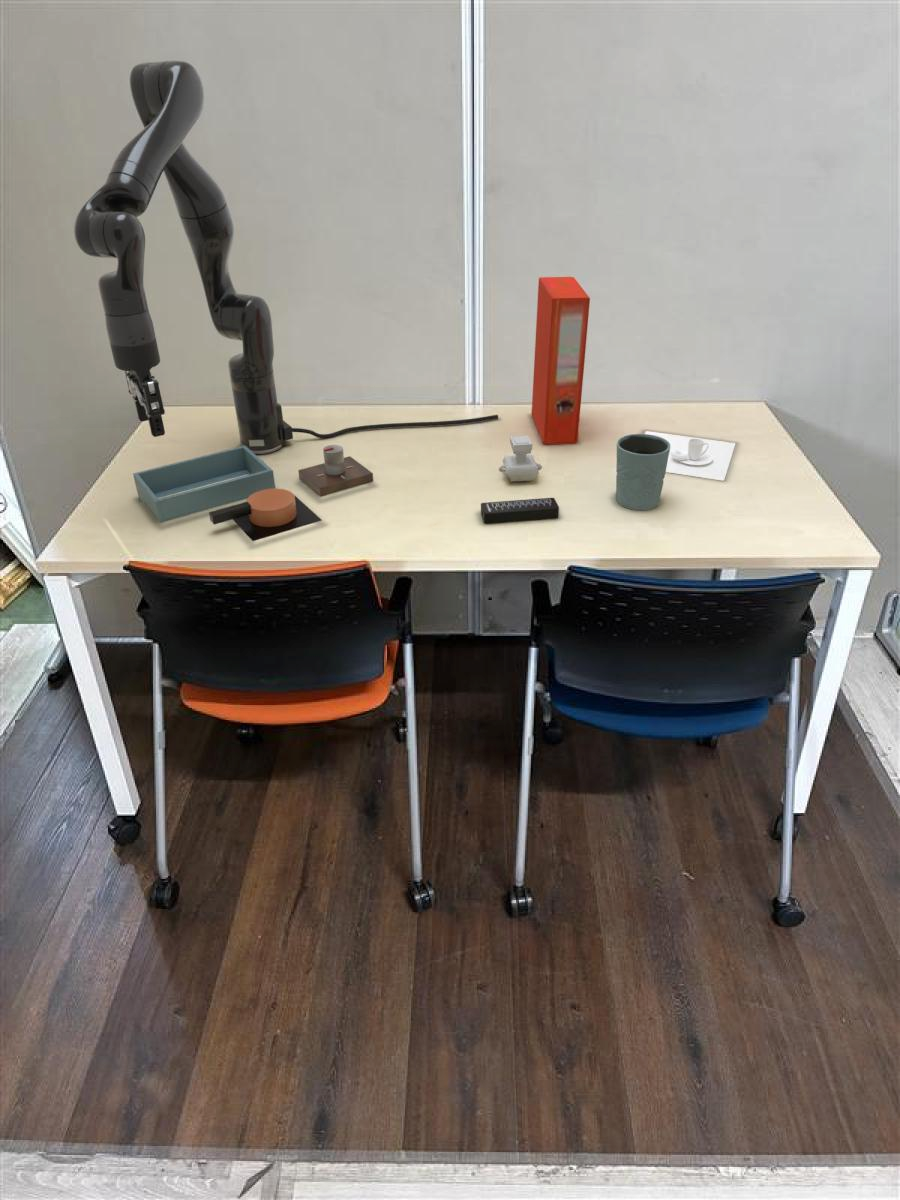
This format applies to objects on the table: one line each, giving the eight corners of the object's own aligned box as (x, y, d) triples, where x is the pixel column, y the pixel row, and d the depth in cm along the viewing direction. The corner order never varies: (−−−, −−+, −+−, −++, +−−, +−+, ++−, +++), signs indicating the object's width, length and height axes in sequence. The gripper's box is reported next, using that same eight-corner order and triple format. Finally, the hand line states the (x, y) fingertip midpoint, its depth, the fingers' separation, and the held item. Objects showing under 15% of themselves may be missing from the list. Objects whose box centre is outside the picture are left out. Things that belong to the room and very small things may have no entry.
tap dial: (339, 465, 178) (337, 441, 175) (348, 472, 175) (346, 448, 172) (322, 470, 176) (319, 446, 173) (330, 477, 173) (328, 453, 170)
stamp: (500, 486, 176) (501, 447, 171) (496, 472, 181) (497, 434, 176) (544, 483, 176) (546, 445, 171) (538, 469, 182) (540, 432, 177)
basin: (248, 469, 184) (245, 445, 181) (276, 495, 174) (272, 470, 170) (138, 498, 173) (132, 473, 170) (161, 527, 163) (155, 501, 160)
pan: (285, 500, 169) (282, 482, 167) (304, 518, 163) (302, 500, 161) (205, 523, 162) (201, 504, 160) (222, 543, 156) (219, 524, 153)
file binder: (564, 414, 207) (573, 276, 189) (578, 443, 193) (590, 297, 175) (531, 415, 206) (537, 277, 188) (543, 444, 192) (550, 298, 174)
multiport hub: (558, 518, 164) (559, 507, 163) (484, 524, 162) (484, 513, 161) (553, 507, 168) (554, 497, 166) (480, 513, 166) (480, 502, 165)
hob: (292, 497, 173) (291, 492, 172) (322, 525, 163) (322, 520, 162) (225, 516, 166) (224, 511, 166) (253, 546, 157) (252, 541, 156)
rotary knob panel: (351, 468, 183) (349, 455, 181) (373, 486, 176) (372, 472, 175) (299, 483, 178) (298, 469, 176) (321, 501, 171) (319, 487, 169)
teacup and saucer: (667, 463, 183) (670, 445, 181) (674, 448, 189) (676, 431, 187) (709, 469, 180) (712, 451, 178) (715, 454, 187) (718, 437, 184)
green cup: (631, 516, 164) (638, 458, 157) (600, 495, 172) (605, 439, 165) (673, 504, 168) (682, 447, 161) (641, 484, 175) (648, 429, 169)
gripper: (166, 344, 142) (184, 436, 151) (143, 324, 152) (161, 411, 161) (120, 352, 139) (141, 445, 148) (99, 331, 149) (120, 419, 158)
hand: (152, 427), depth 155 cm, fingers open, 8 cm apart
